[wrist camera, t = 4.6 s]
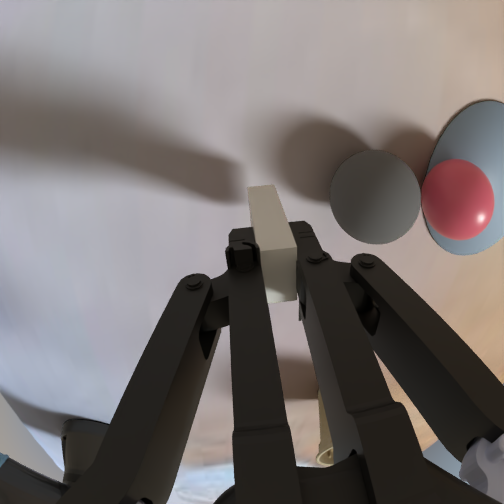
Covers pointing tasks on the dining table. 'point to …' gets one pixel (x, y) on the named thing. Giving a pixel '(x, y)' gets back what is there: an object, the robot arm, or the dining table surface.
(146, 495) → the robot arm
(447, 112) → the dining table surface
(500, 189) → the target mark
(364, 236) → the grey ball
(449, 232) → the cranberry ball
